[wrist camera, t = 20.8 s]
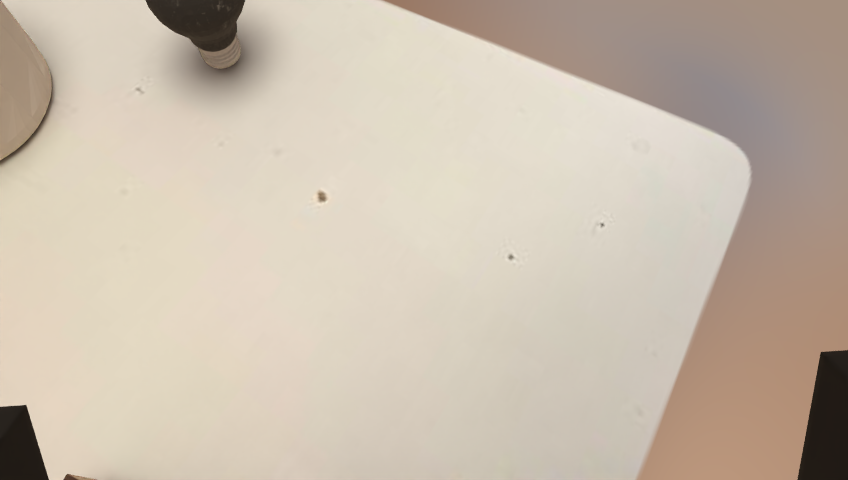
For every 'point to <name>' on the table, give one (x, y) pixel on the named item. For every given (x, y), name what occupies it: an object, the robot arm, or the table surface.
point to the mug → (20, 84)
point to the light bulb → (204, 26)
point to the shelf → (76, 477)
